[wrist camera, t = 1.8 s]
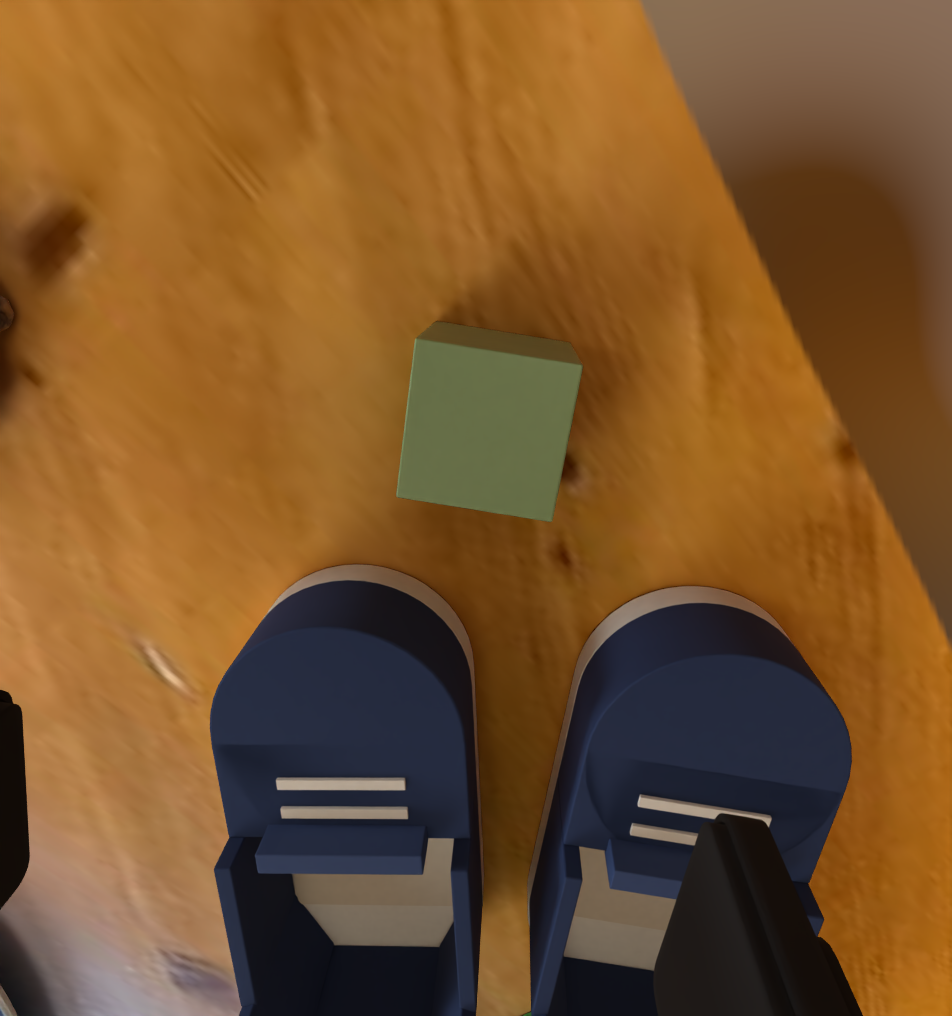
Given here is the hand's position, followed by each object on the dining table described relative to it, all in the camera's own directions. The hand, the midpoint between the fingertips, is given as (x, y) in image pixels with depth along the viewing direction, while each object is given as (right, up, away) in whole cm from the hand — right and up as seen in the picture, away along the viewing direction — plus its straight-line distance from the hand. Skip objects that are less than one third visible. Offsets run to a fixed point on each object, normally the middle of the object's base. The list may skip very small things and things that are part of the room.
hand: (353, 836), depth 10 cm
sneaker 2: (+9, -7, +20) cm, 24 cm away
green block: (+2, +8, +15) cm, 18 cm away
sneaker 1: (-2, -7, +21) cm, 22 cm away
